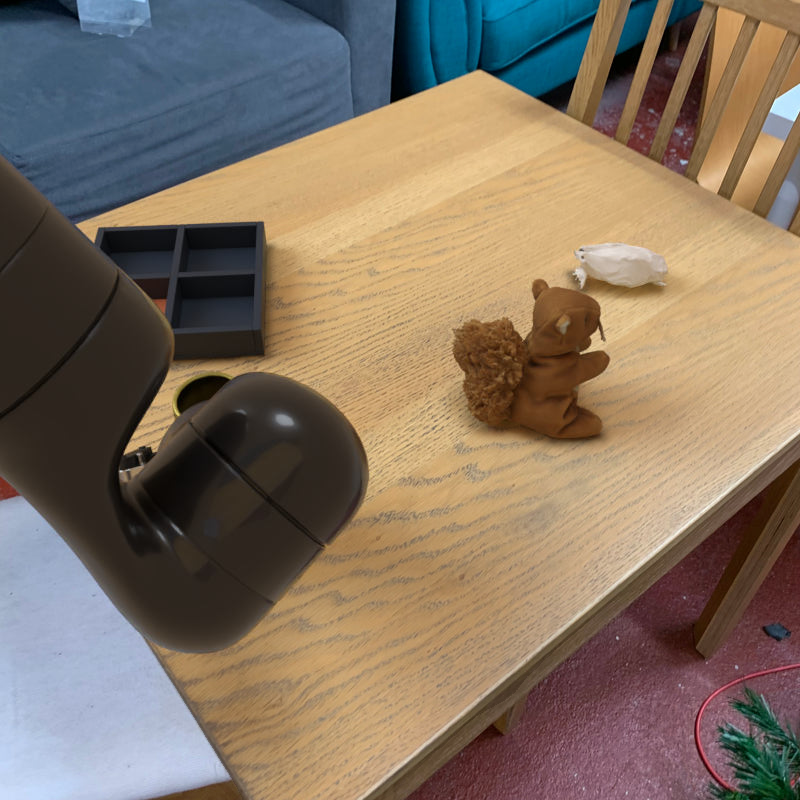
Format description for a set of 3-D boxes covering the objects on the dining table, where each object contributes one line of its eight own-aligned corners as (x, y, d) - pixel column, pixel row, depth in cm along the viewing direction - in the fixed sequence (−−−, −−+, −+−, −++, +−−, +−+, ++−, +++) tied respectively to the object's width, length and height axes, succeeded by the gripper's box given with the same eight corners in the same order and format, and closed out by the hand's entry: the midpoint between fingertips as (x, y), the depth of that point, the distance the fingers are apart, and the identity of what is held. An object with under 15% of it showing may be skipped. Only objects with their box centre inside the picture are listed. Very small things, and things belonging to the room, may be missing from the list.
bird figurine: (588, 312, 85) (674, 286, 85) (582, 260, 81) (673, 232, 81) (573, 291, 89) (656, 266, 89) (567, 240, 85) (653, 213, 85)
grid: (78, 365, 76) (67, 339, 73) (106, 253, 88) (98, 227, 86) (264, 355, 78) (260, 329, 75) (267, 246, 90) (263, 220, 87)
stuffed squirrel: (608, 437, 72) (645, 333, 62) (461, 452, 70) (475, 348, 60) (576, 362, 78) (604, 258, 68) (440, 375, 76) (450, 270, 67)
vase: (259, 473, 68) (238, 358, 57) (281, 527, 64) (263, 415, 53) (191, 495, 66) (156, 380, 55) (209, 552, 62) (175, 441, 52)
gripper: (329, 374, 46) (296, 376, 62) (79, 430, 42) (114, 416, 59) (356, 495, 46) (317, 465, 63) (112, 559, 43) (137, 510, 59)
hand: (218, 442), depth 61 cm, fingers closed on vase, 5 cm apart
